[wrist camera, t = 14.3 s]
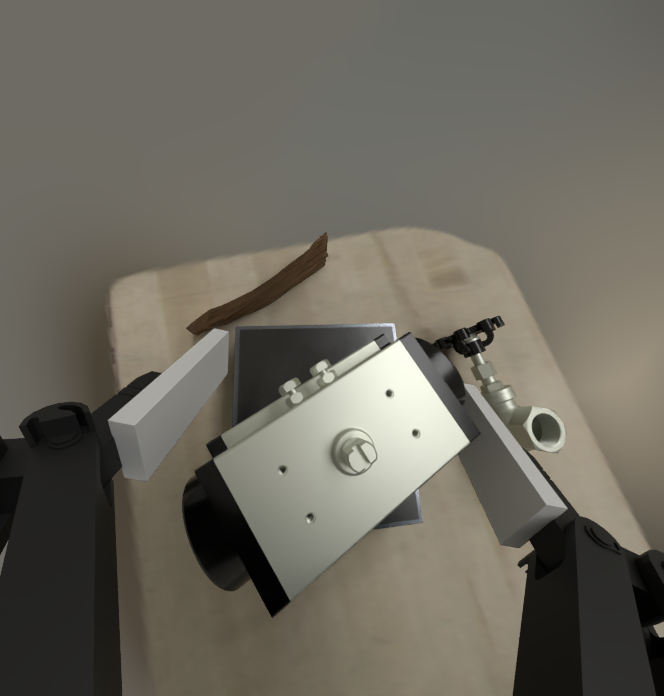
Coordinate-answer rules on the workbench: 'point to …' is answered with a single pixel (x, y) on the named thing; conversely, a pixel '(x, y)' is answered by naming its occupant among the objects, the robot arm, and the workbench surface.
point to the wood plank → (266, 289)
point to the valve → (506, 392)
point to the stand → (300, 373)
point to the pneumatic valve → (324, 466)
